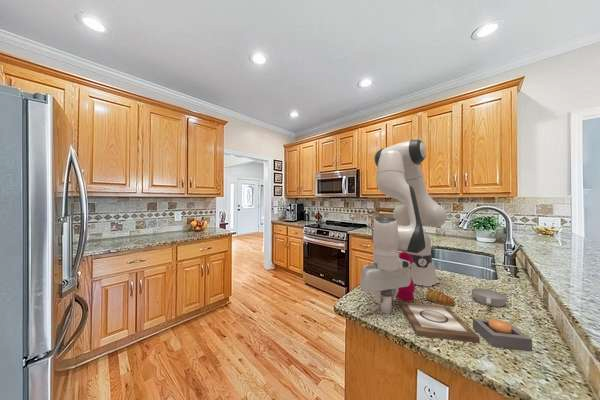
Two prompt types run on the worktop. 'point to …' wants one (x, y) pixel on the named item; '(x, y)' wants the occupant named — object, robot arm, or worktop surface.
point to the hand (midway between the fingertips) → (386, 301)
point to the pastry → (439, 298)
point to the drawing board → (437, 322)
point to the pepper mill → (406, 292)
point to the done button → (500, 326)
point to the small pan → (489, 297)
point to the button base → (502, 336)
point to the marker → (386, 301)
